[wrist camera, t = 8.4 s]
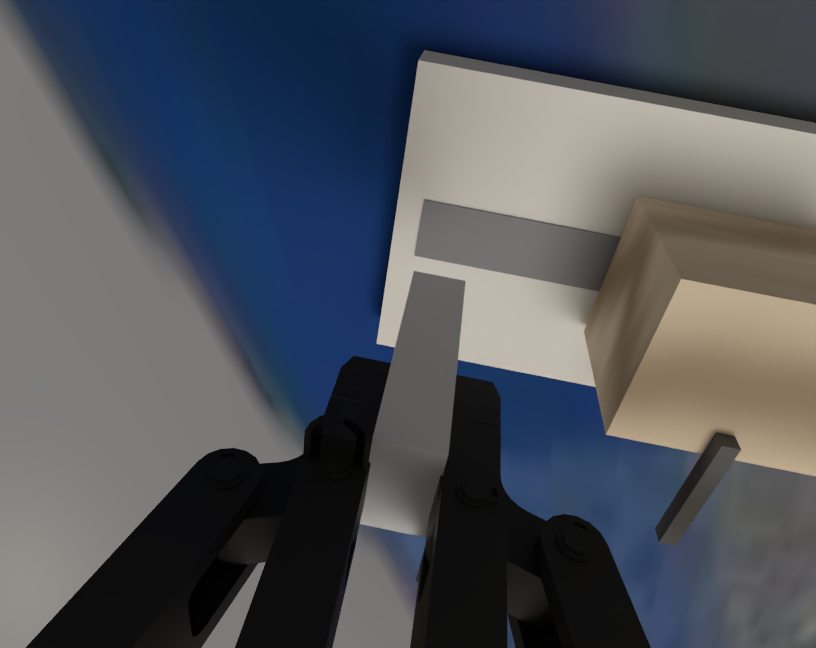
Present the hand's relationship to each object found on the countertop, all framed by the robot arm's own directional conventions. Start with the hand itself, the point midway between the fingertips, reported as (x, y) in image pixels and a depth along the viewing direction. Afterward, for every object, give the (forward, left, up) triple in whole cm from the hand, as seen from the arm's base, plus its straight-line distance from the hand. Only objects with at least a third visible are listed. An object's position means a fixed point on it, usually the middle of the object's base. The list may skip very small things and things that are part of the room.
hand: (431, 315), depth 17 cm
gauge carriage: (+2, +11, -6) cm, 13 cm away
